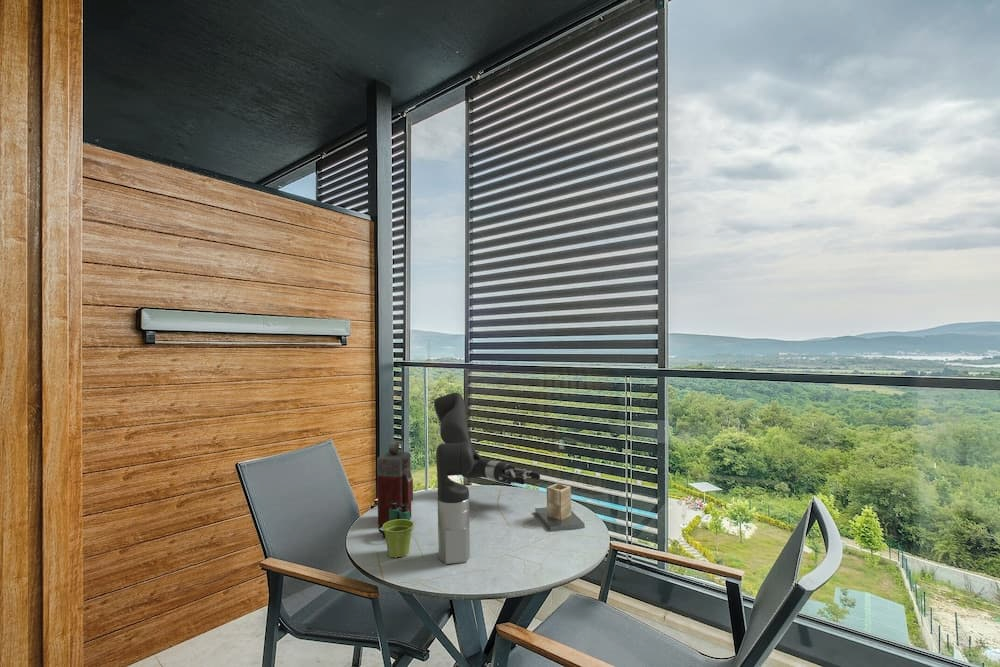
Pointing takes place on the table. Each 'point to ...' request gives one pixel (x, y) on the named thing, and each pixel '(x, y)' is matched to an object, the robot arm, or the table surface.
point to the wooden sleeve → (559, 501)
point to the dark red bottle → (393, 481)
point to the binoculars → (396, 514)
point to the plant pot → (398, 536)
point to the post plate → (559, 521)
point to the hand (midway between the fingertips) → (532, 478)
